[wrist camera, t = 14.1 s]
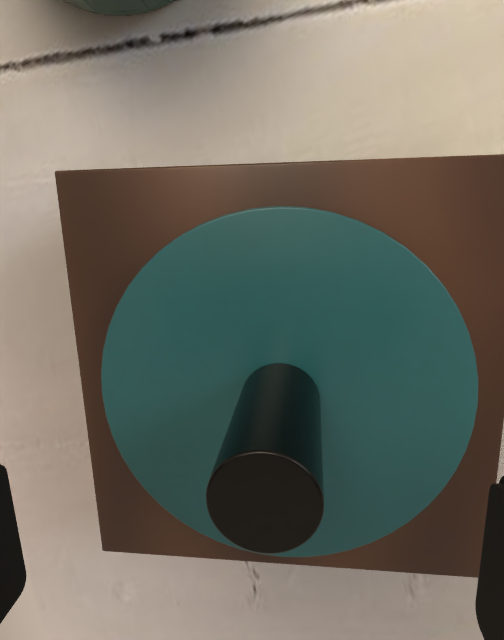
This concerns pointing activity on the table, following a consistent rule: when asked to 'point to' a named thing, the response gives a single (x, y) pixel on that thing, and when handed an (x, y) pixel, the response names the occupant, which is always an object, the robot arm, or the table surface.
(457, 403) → the lid
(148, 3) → the pot
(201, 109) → the table surface
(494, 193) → the wooden box
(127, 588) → the table surface
